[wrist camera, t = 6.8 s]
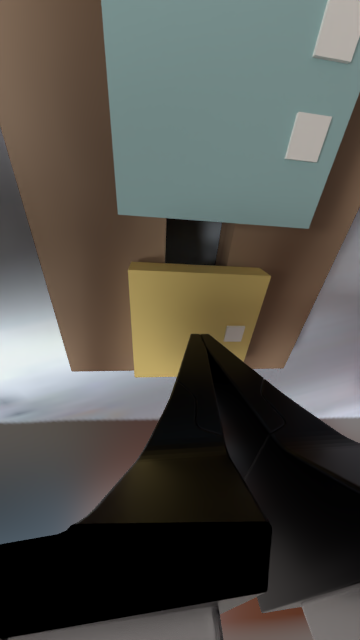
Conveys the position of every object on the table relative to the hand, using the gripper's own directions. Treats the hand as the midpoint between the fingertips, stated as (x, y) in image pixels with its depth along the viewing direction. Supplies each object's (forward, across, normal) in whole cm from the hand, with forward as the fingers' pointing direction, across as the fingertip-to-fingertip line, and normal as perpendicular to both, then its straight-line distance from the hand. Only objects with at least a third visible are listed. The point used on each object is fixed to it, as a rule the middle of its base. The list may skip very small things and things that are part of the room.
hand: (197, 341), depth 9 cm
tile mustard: (+3, 0, 0) cm, 3 cm away
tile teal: (+2, 0, -8) cm, 8 cm away
